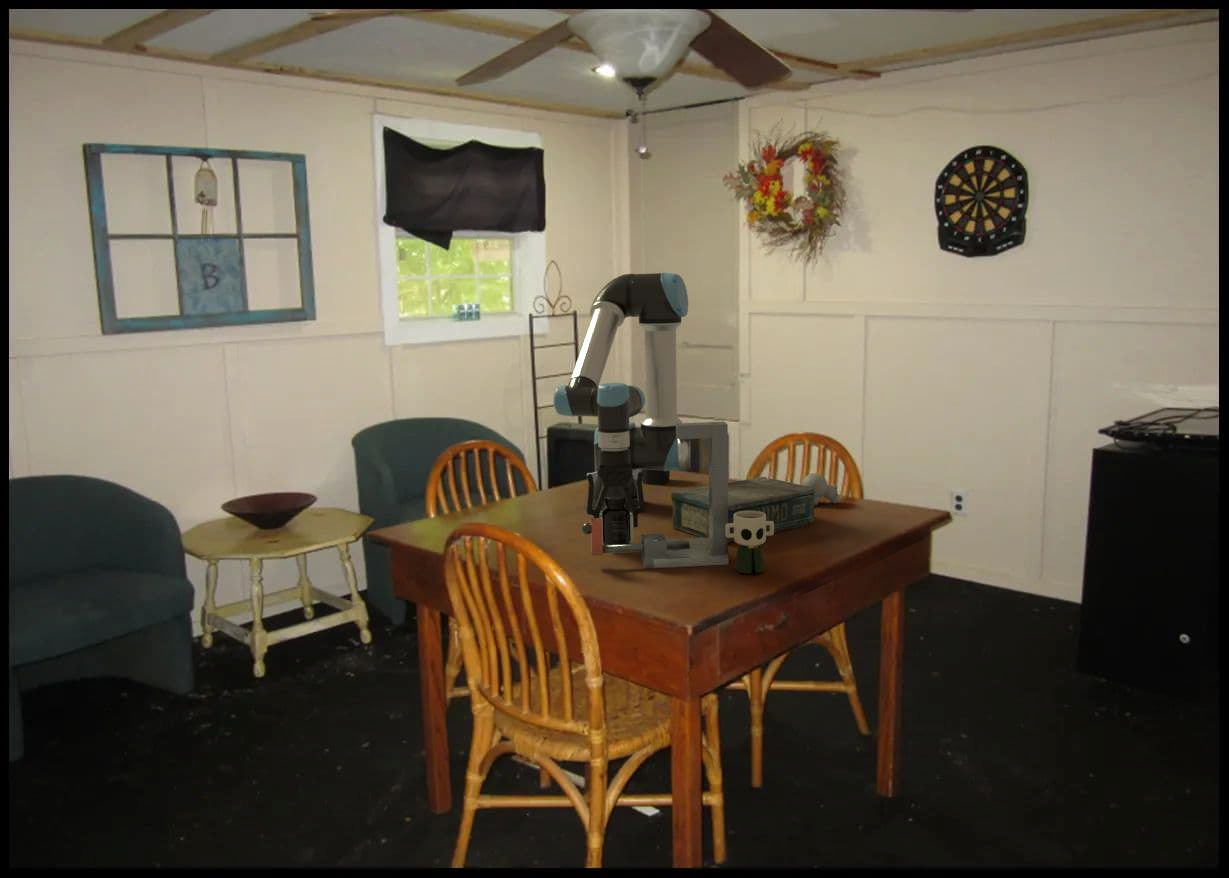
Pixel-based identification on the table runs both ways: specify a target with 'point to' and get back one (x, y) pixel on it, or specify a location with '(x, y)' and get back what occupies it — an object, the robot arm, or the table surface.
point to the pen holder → (655, 476)
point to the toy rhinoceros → (821, 488)
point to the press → (716, 544)
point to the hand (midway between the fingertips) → (616, 540)
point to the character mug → (749, 539)
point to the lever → (599, 549)
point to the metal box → (746, 505)
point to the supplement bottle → (616, 521)
